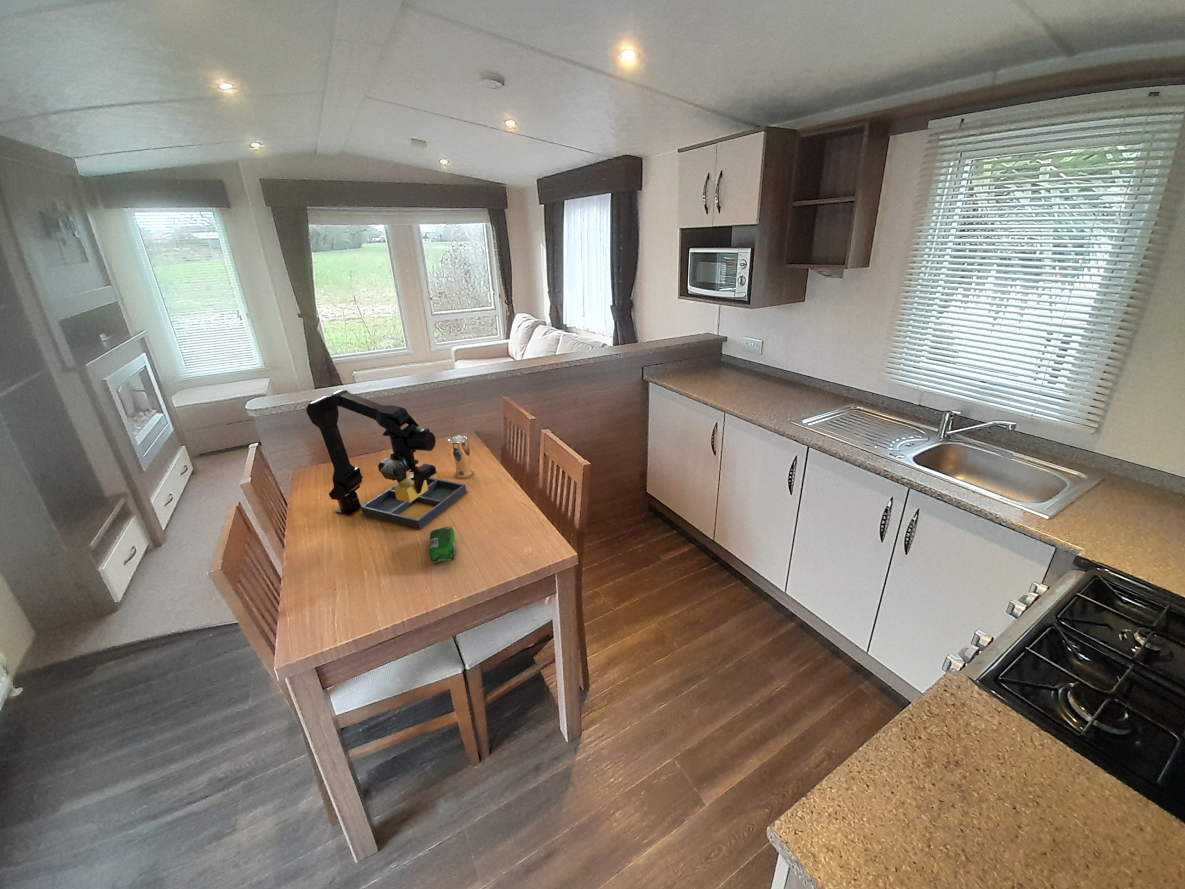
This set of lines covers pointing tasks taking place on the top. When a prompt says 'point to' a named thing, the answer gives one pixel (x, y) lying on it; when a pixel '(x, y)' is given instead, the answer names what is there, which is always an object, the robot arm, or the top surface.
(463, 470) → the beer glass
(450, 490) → the tray
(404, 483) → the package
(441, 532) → the snack package
